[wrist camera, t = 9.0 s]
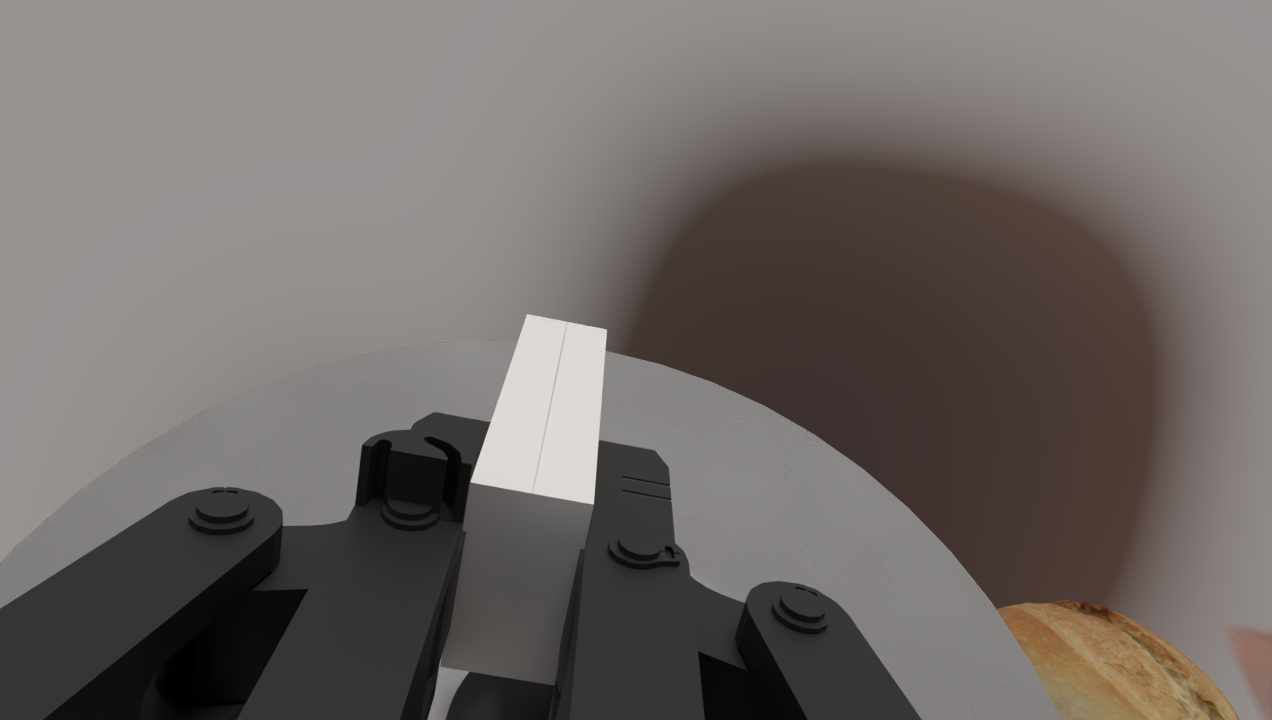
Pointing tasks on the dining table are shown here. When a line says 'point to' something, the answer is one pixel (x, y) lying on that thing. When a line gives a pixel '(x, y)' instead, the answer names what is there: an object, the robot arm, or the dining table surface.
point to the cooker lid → (631, 415)
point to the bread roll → (1111, 666)
